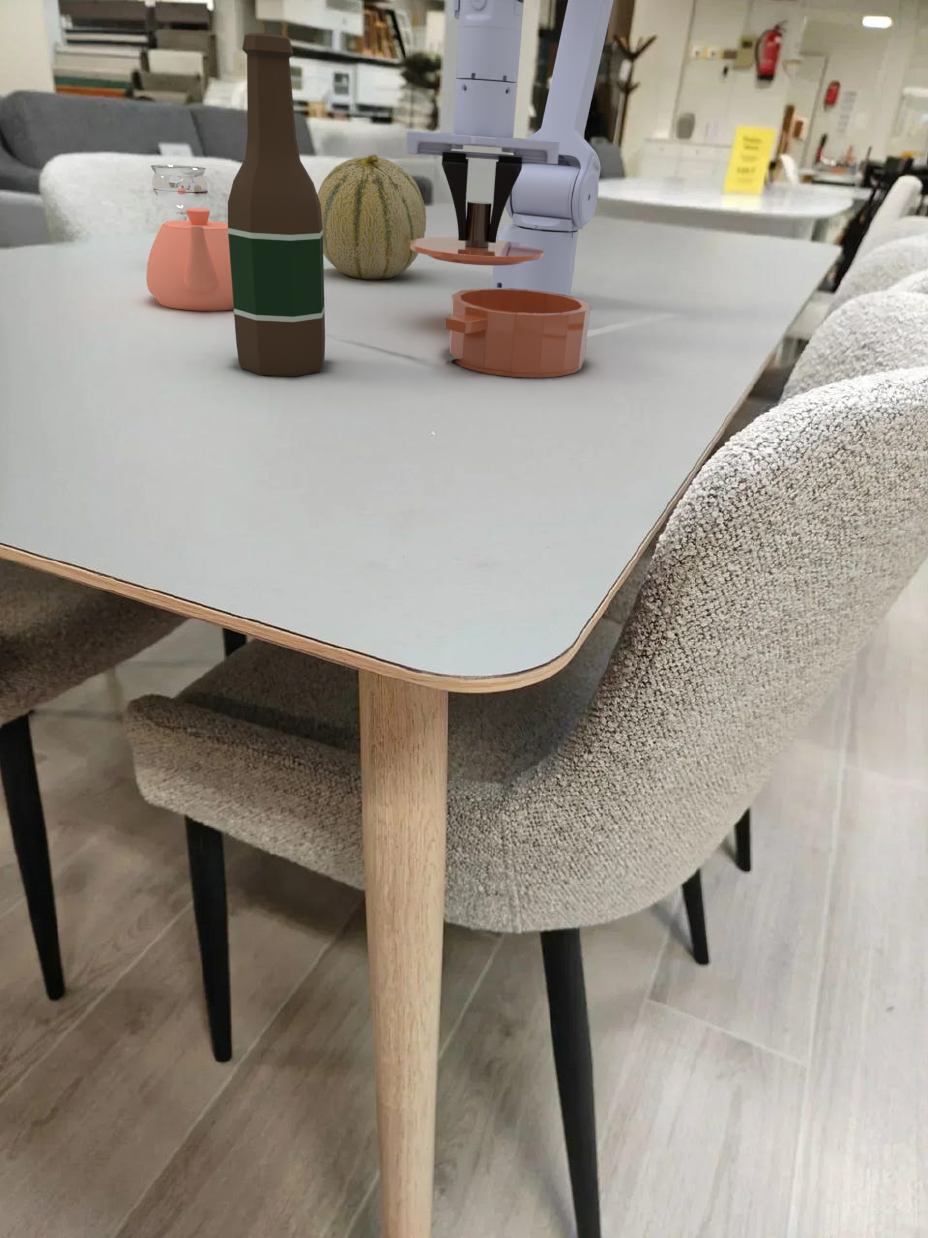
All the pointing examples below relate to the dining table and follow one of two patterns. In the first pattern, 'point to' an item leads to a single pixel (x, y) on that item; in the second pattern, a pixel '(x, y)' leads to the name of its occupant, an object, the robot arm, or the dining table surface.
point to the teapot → (191, 264)
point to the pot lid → (476, 243)
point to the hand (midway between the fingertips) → (476, 240)
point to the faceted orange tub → (518, 332)
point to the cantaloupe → (370, 217)
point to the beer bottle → (275, 228)
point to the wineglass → (180, 187)
